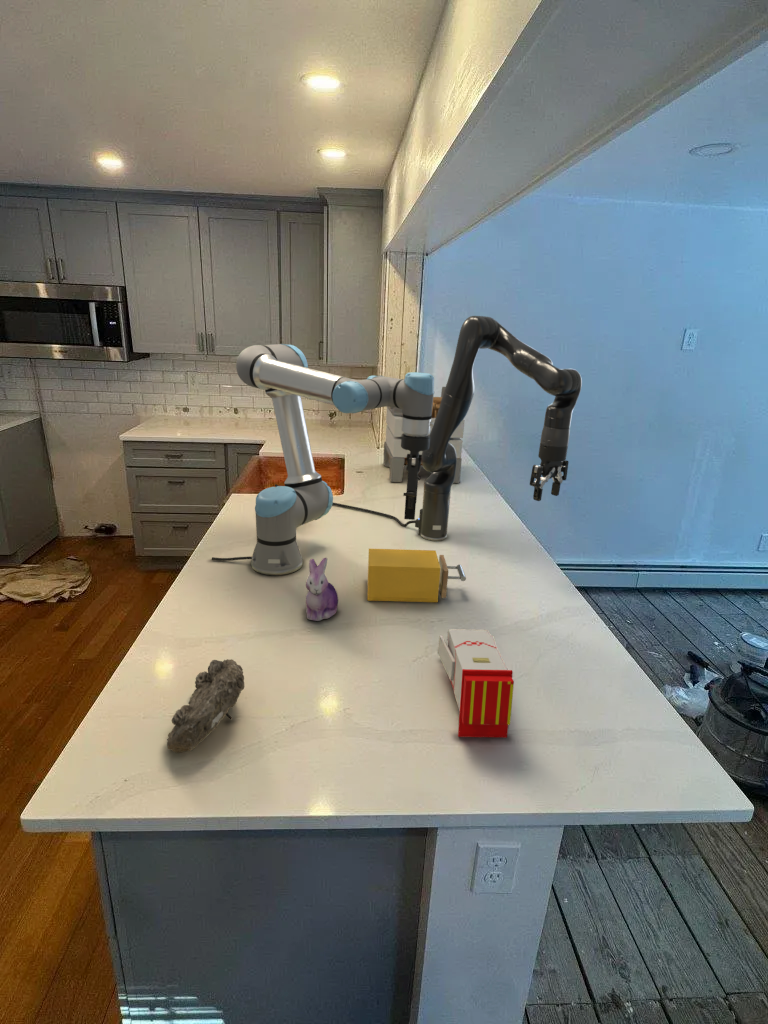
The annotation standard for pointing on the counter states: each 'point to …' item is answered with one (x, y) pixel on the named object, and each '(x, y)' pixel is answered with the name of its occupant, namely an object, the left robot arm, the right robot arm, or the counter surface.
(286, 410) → the left robot arm
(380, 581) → the cabinet
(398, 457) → the grey crate
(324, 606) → the figurine
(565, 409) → the right robot arm
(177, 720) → the fossil
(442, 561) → the drawer
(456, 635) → the toy
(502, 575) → the counter surface
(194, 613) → the counter surface
